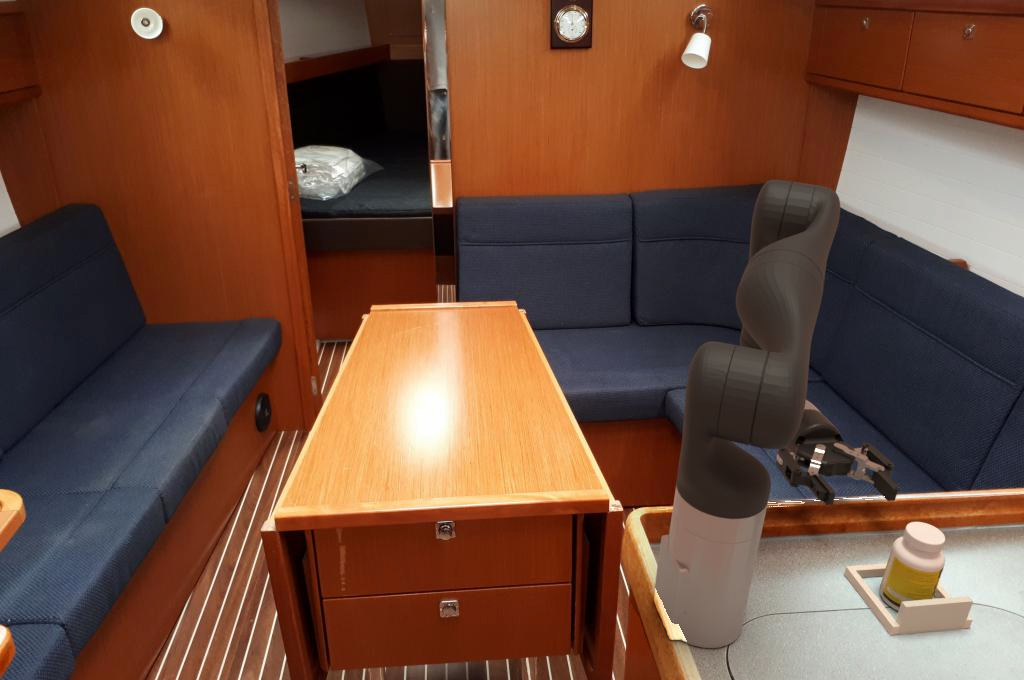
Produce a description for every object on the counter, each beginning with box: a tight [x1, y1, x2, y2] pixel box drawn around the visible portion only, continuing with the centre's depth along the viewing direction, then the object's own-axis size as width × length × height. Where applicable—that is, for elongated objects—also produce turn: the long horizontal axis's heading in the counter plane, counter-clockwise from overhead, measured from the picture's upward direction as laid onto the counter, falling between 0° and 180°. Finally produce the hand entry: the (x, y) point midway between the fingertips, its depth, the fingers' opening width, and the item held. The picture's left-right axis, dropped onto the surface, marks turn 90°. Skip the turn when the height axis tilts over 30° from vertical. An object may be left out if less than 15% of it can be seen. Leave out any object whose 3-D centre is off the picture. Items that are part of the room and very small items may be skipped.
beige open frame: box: [843, 562, 974, 636], centre depth 86 cm, size 10×10×4 cm
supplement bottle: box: [879, 521, 946, 611], centre depth 85 cm, size 5×5×10 cm
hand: (863, 497), depth 94 cm, fingers open, 8 cm apart
